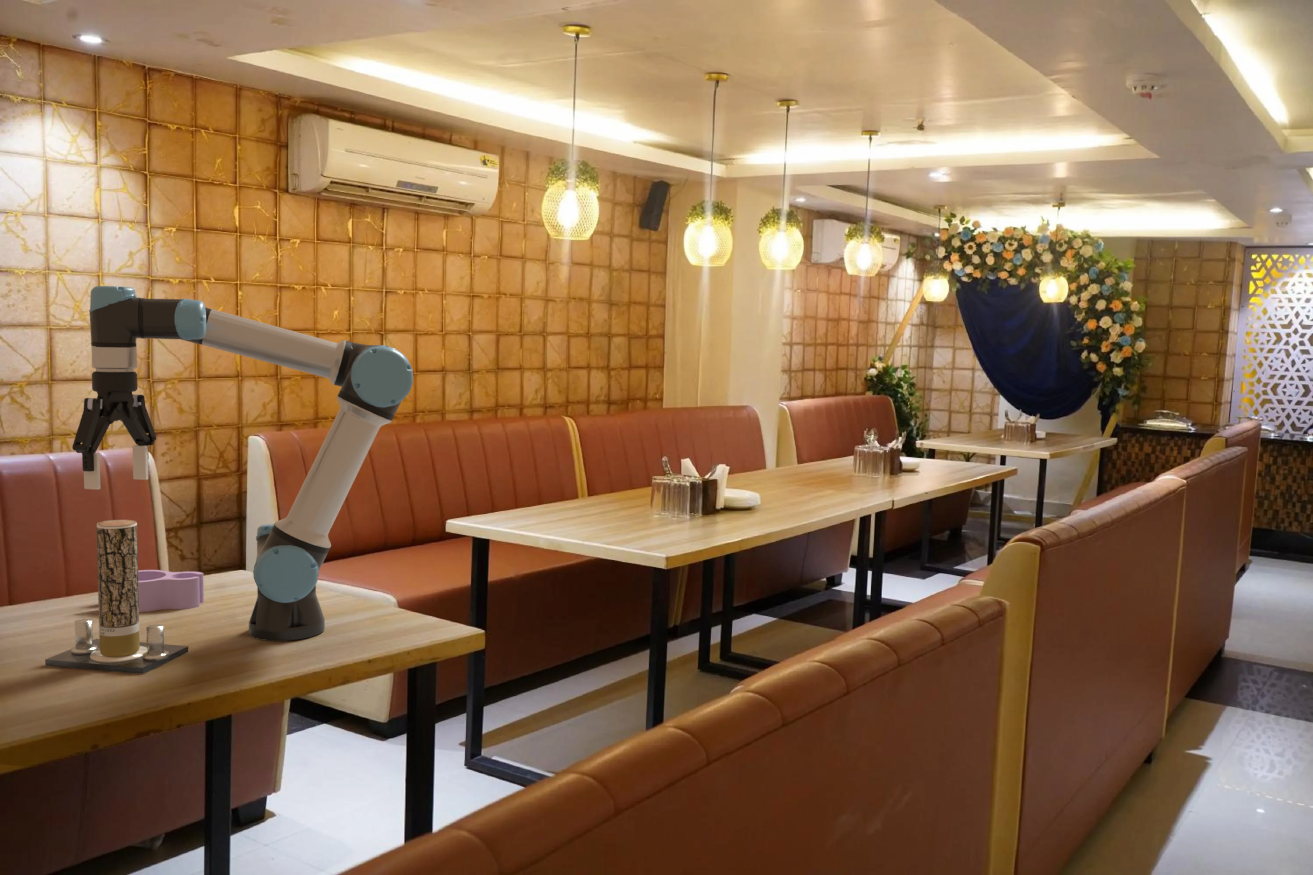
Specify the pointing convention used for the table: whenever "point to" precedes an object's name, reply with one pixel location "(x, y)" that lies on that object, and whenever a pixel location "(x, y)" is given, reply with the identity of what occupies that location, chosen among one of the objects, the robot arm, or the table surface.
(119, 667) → the plate
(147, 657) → the collar post
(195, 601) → the clip
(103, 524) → the paper tube
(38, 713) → the table surface
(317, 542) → the robot arm
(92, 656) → the white dome cap
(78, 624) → the collar post
